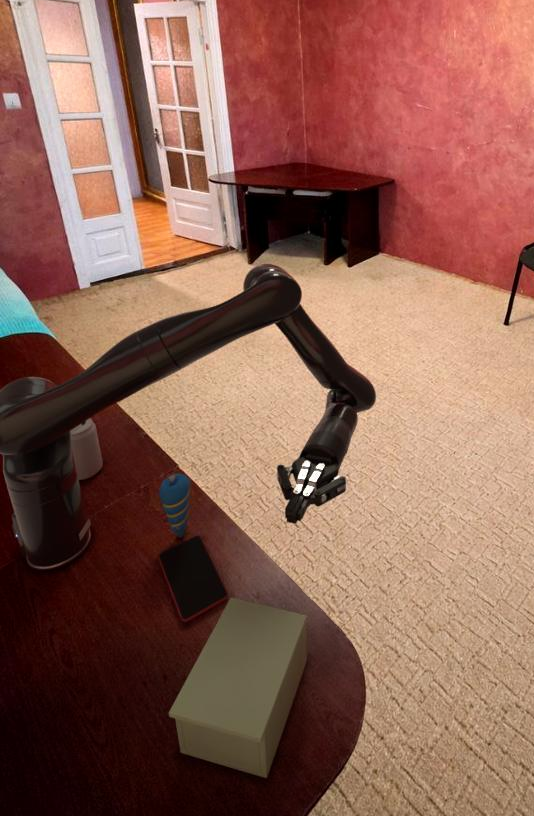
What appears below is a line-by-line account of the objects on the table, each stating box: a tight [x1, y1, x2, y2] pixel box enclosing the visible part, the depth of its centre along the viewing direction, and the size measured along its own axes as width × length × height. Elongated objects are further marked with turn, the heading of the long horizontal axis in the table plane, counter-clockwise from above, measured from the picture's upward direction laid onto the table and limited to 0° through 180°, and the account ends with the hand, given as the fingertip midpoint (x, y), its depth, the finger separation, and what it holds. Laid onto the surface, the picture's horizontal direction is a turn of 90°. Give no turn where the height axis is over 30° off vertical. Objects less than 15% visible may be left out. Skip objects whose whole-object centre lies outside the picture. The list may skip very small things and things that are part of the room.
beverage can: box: [71, 418, 104, 481], centre depth 101 cm, size 6×6×12 cm
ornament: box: [158, 473, 191, 538], centre depth 87 cm, size 5×5×15 cm
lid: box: [168, 597, 308, 743], centre depth 62 cm, size 14×12×1 cm
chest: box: [174, 620, 308, 779], centre depth 64 cm, size 14×12×9 cm
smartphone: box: [157, 534, 229, 623], centre depth 82 cm, size 7×1×15 cm
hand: (291, 518), depth 74 cm, fingers closed
